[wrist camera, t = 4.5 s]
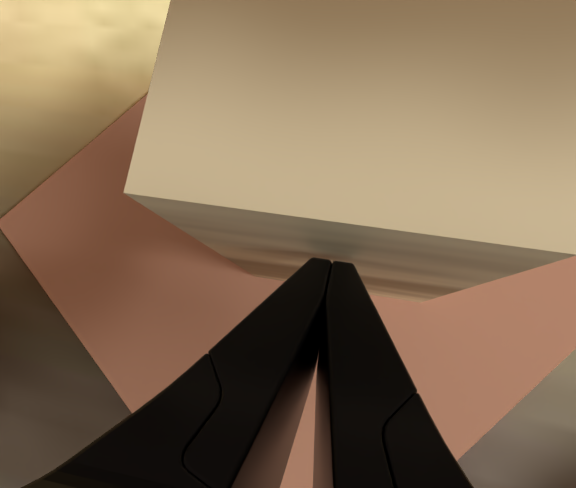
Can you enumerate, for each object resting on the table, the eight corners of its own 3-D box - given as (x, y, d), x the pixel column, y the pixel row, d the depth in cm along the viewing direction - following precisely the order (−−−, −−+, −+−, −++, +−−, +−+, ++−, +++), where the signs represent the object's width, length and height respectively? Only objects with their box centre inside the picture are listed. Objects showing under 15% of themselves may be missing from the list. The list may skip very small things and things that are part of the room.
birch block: (420, 302, 15) (577, 254, 5) (255, 276, 16) (123, 193, 6) (432, 194, 16) (592, -27, 6) (273, 175, 16) (183, -47, 7)
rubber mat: (284, 616, 14) (282, 625, 13) (3, 224, 18) (-4, 222, 17) (712, 212, 15) (722, 209, 14) (355, -76, 19) (356, -84, 18)
